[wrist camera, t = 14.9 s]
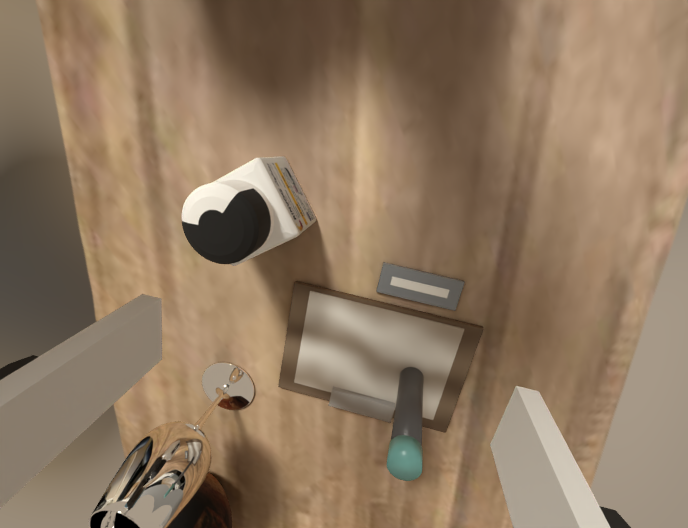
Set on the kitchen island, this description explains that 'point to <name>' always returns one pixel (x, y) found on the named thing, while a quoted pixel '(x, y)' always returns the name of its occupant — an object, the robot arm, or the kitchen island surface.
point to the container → (246, 212)
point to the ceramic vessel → (206, 508)
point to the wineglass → (169, 461)
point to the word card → (420, 286)
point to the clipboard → (374, 353)
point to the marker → (407, 427)
